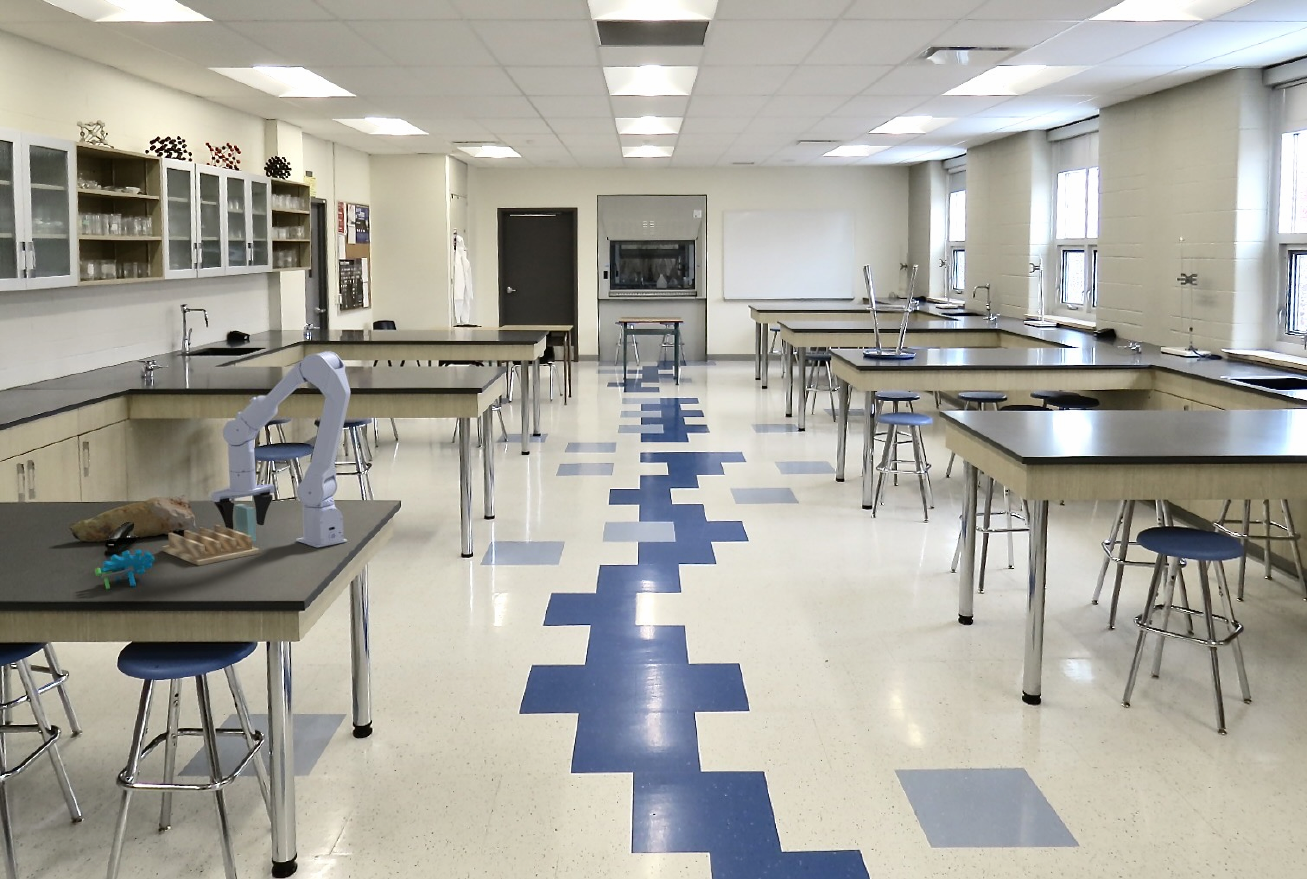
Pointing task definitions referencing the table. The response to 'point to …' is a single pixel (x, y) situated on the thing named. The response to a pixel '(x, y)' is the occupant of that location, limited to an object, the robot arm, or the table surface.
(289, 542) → the table surface
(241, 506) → the teal rectangular block
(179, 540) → the rack
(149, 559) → the toy stegosaurus
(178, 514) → the mineral
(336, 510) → the robot arm
